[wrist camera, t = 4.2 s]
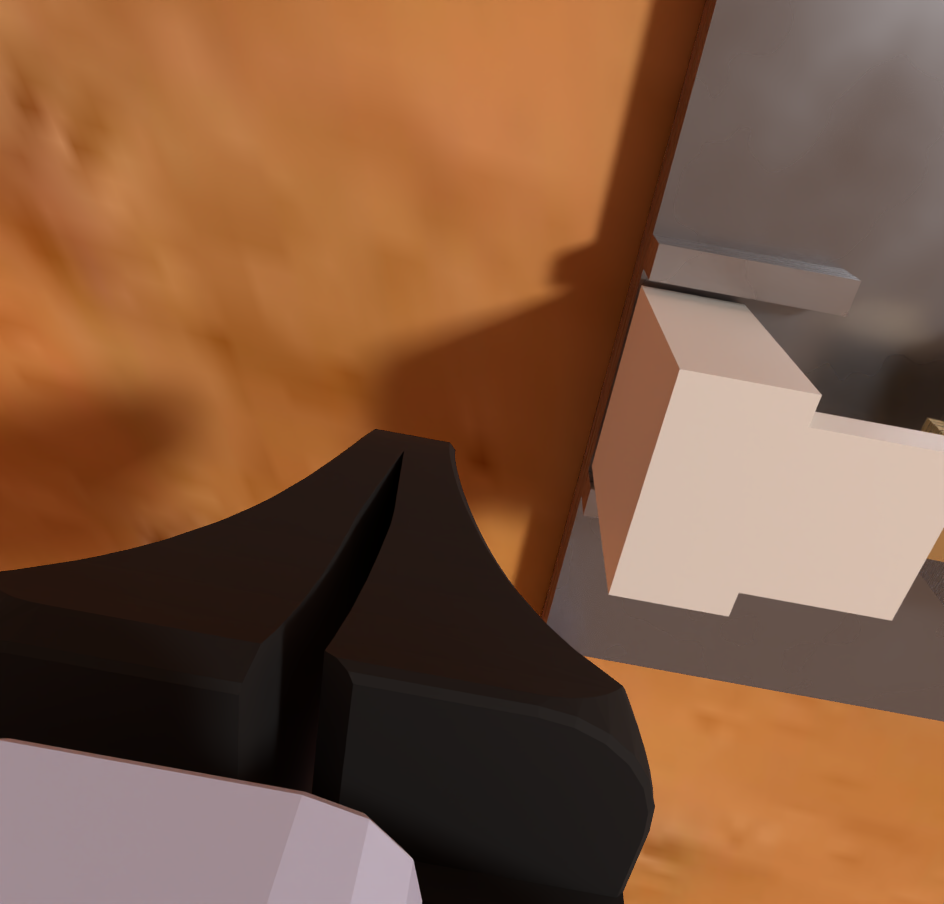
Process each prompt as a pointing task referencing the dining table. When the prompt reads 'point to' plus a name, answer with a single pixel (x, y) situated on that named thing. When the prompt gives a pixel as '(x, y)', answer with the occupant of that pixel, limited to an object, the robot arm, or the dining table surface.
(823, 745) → the dining table surface
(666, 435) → the latch
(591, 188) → the dining table surface
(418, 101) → the dining table surface
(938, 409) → the base plate
